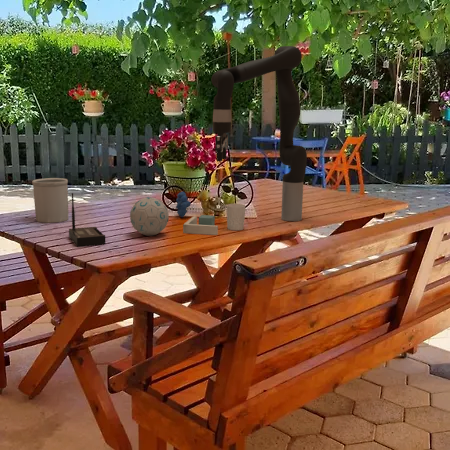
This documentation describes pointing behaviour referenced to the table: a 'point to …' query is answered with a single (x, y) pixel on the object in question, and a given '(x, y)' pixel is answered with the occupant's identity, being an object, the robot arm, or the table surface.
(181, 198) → the grapes
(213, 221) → the teal block
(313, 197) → the table surface
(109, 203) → the table surface
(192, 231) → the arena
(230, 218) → the white cup
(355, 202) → the table surface
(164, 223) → the puzzle ball
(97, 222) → the table surface
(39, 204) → the utensil holder
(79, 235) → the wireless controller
